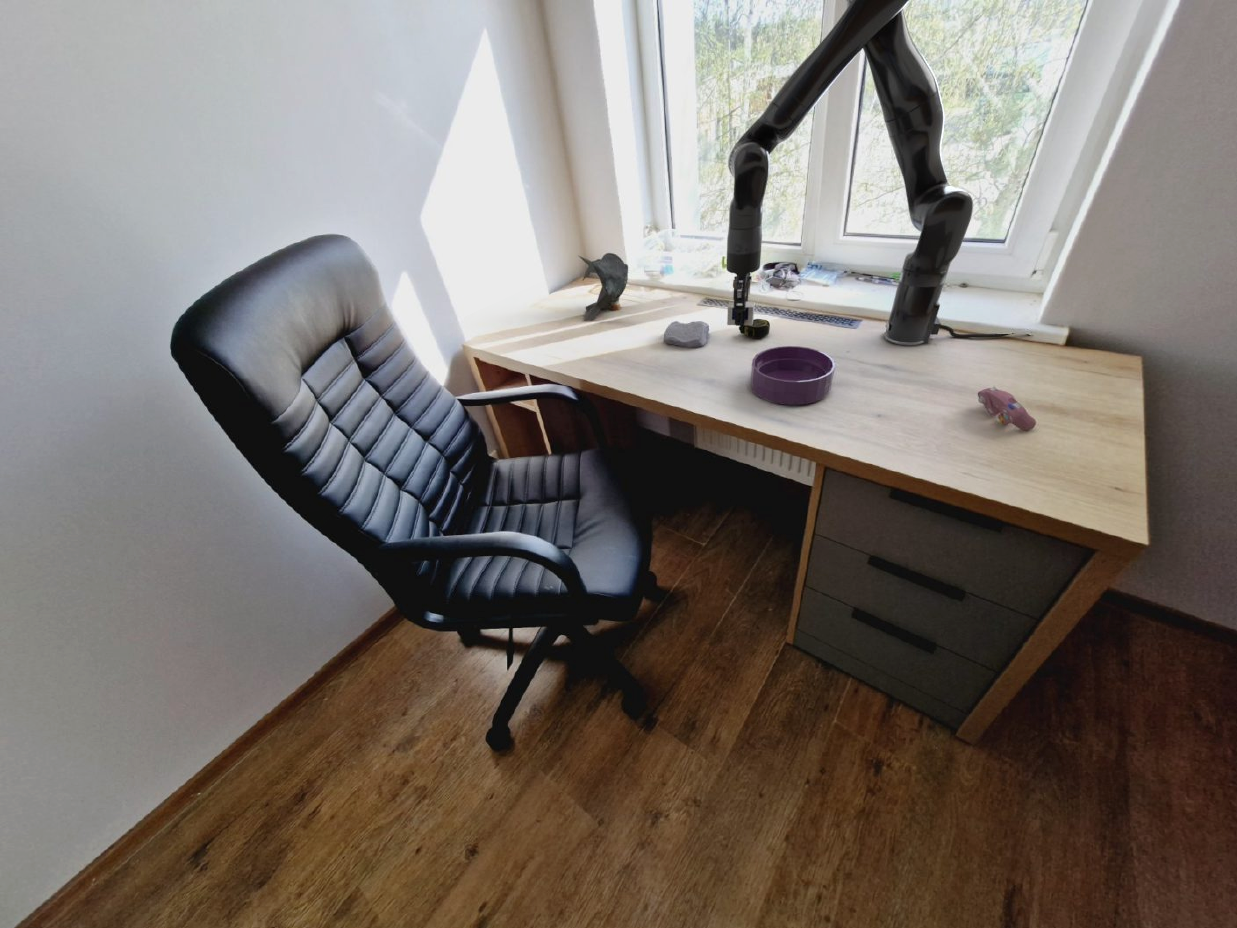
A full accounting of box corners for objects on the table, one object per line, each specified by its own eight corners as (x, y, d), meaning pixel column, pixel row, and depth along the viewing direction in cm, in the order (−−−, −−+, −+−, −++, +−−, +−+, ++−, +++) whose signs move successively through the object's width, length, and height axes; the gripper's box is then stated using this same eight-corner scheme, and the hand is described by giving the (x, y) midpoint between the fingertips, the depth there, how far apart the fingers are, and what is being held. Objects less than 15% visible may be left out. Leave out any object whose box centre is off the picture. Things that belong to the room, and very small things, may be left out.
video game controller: (975, 412, 93) (970, 387, 89) (999, 401, 92) (996, 374, 88) (1012, 441, 85) (1009, 414, 82) (1039, 428, 84) (1037, 401, 80)
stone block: (703, 354, 126) (710, 332, 132) (702, 339, 123) (709, 317, 129) (661, 353, 131) (670, 332, 136) (659, 338, 127) (668, 317, 133)
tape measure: (758, 328, 132) (759, 315, 129) (774, 336, 127) (775, 323, 124) (738, 334, 130) (738, 321, 128) (753, 342, 125) (754, 329, 123)
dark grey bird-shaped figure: (631, 316, 149) (626, 257, 138) (584, 321, 150) (575, 262, 139) (631, 301, 160) (626, 245, 149) (587, 305, 161) (579, 250, 150)
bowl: (828, 371, 109) (833, 347, 105) (831, 409, 97) (836, 384, 93) (753, 368, 114) (755, 345, 110) (747, 404, 102) (749, 379, 98)
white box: (753, 319, 116) (754, 301, 113) (752, 325, 113) (753, 307, 111) (728, 319, 118) (729, 301, 115) (727, 325, 115) (727, 307, 112)
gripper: (759, 256, 99) (753, 333, 109) (763, 238, 109) (758, 310, 120) (723, 257, 101) (721, 333, 111) (730, 240, 111) (728, 310, 122)
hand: (740, 321), depth 115 cm, fingers closed on white box, 3 cm apart
